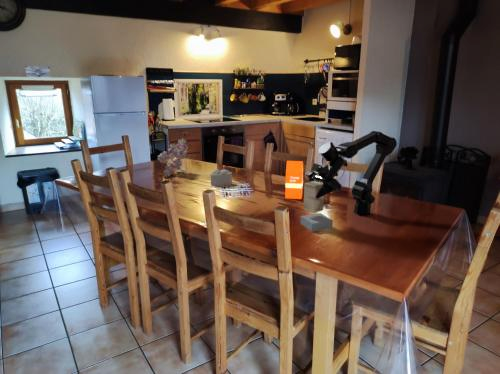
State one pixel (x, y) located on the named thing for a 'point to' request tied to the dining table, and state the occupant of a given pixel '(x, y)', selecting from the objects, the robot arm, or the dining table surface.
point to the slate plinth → (316, 222)
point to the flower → (177, 152)
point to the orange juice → (294, 179)
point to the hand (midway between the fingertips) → (311, 195)
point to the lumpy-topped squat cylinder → (221, 178)
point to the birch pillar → (313, 197)
